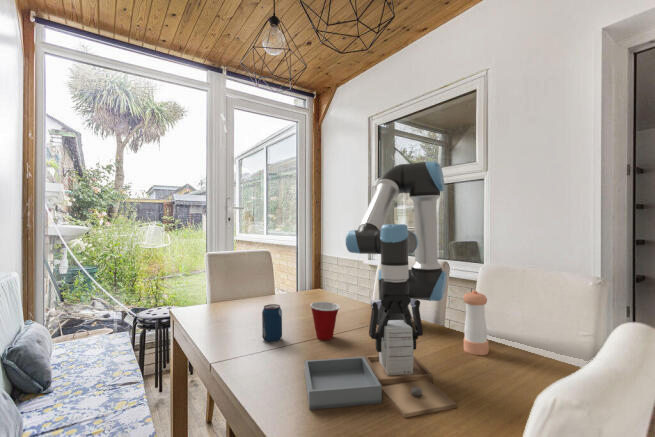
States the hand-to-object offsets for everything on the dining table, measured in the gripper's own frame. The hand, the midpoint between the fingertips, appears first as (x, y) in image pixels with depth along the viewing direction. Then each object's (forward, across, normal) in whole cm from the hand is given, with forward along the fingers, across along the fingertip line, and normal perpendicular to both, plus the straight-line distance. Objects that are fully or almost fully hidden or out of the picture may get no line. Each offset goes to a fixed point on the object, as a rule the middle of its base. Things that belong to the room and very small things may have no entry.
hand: (396, 362), depth 91 cm
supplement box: (+2, 0, 0) cm, 2 cm away
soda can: (+3, +35, -31) cm, 47 cm away
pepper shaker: (+3, -30, -10) cm, 32 cm away
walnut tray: (+3, 0, 0) cm, 3 cm away
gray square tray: (+3, +17, +6) cm, 18 cm away
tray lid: (+3, 0, +14) cm, 14 cm away
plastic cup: (+3, +16, -30) cm, 34 cm away
